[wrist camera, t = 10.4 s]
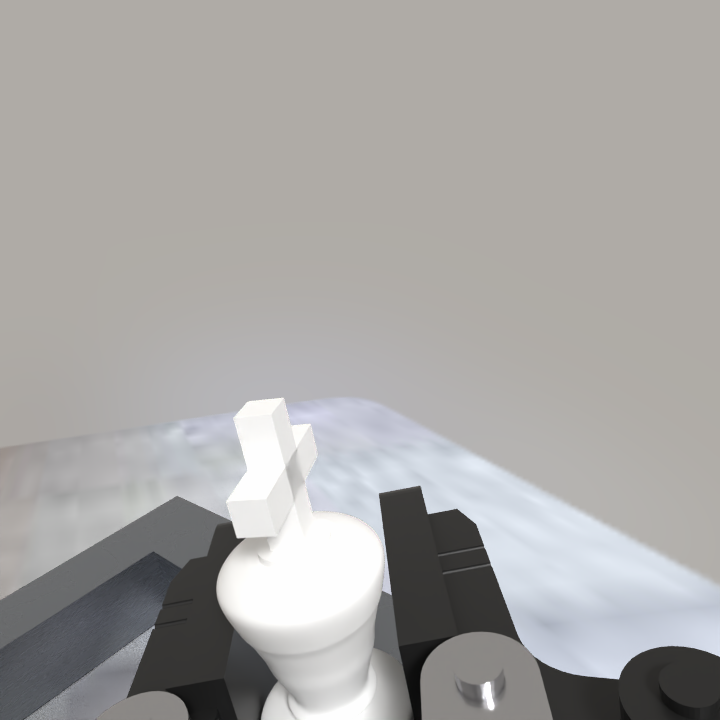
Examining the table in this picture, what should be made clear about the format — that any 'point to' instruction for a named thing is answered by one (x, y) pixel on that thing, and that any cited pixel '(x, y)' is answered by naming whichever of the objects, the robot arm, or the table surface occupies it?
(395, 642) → the grey two-window frame
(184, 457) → the table surface
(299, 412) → the table surface
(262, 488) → the chess piece
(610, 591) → the table surface
